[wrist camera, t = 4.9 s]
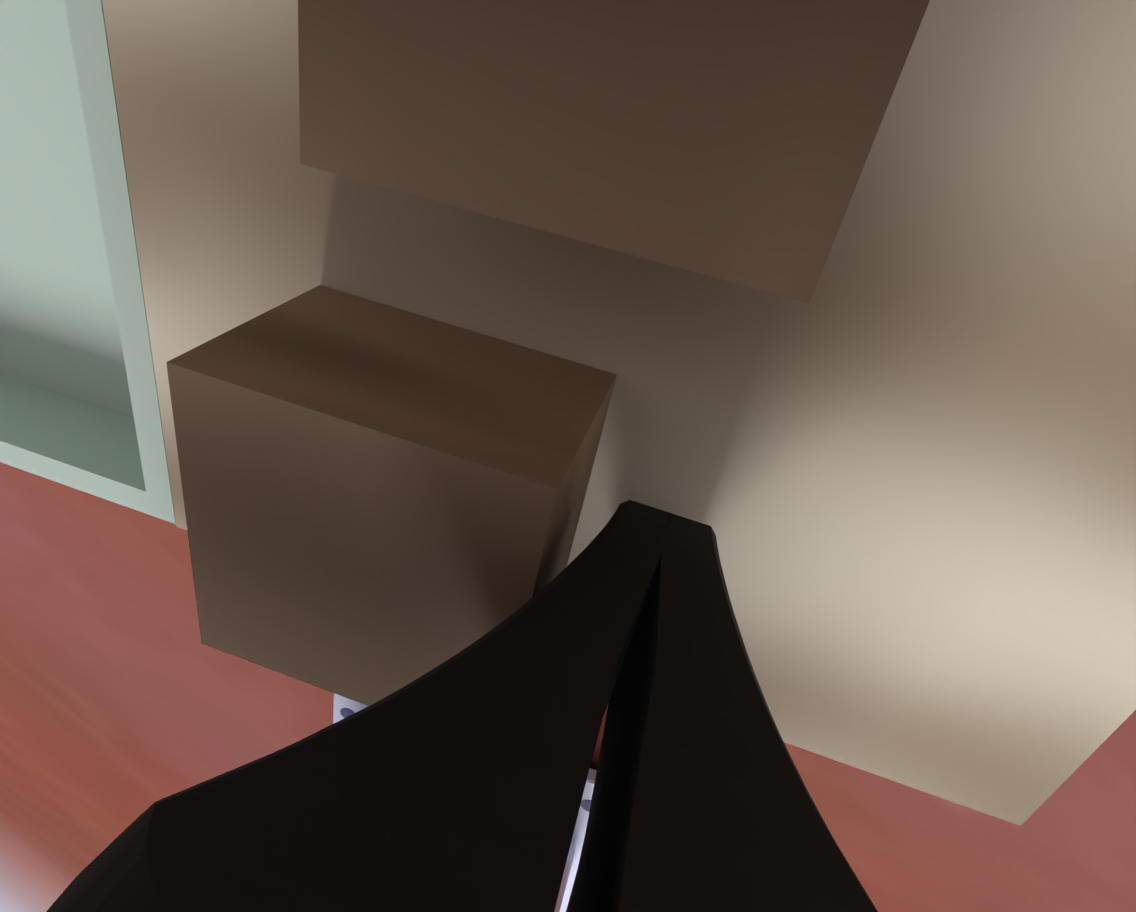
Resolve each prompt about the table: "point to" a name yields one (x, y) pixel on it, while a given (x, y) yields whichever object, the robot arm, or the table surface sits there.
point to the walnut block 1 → (615, 117)
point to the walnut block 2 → (374, 486)
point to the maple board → (773, 368)
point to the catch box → (72, 267)
